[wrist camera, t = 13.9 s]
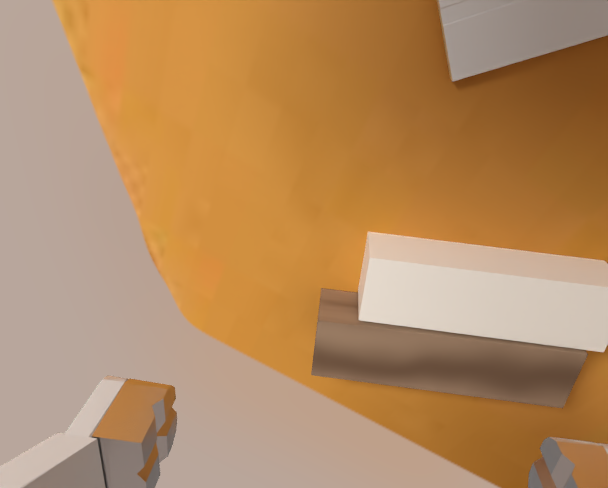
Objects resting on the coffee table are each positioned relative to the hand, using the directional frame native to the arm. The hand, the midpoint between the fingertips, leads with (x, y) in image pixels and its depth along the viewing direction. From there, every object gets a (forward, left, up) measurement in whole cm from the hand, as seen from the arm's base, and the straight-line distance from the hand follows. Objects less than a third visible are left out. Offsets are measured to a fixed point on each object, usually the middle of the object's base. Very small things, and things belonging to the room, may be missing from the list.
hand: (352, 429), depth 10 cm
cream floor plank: (+12, +12, -30) cm, 34 cm away
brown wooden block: (+18, +10, -29) cm, 36 cm away
